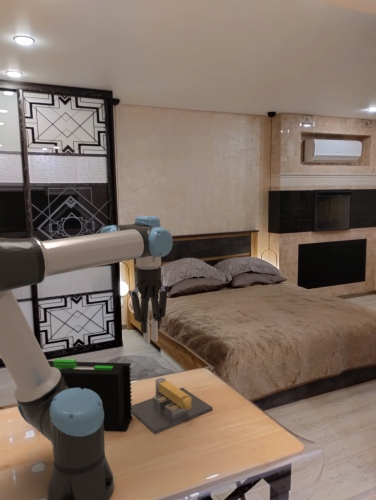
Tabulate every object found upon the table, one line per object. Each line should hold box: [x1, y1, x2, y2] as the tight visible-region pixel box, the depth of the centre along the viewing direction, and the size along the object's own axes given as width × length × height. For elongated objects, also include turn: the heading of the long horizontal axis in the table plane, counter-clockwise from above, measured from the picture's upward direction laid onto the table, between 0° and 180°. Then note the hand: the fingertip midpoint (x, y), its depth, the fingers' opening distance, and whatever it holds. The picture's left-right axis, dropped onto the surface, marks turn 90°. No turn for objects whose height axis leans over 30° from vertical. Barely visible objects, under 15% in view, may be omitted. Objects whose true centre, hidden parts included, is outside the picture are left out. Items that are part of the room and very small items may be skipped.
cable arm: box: [155, 377, 191, 410], centre depth 131 cm, size 18×4×6 cm, turn 36°
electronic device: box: [47, 358, 133, 433], centre depth 125 cm, size 28×11×20 cm, turn 84°
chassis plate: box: [131, 387, 214, 434], centre depth 131 cm, size 22×18×4 cm
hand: (150, 341), depth 126 cm, fingers open, 2 cm apart
